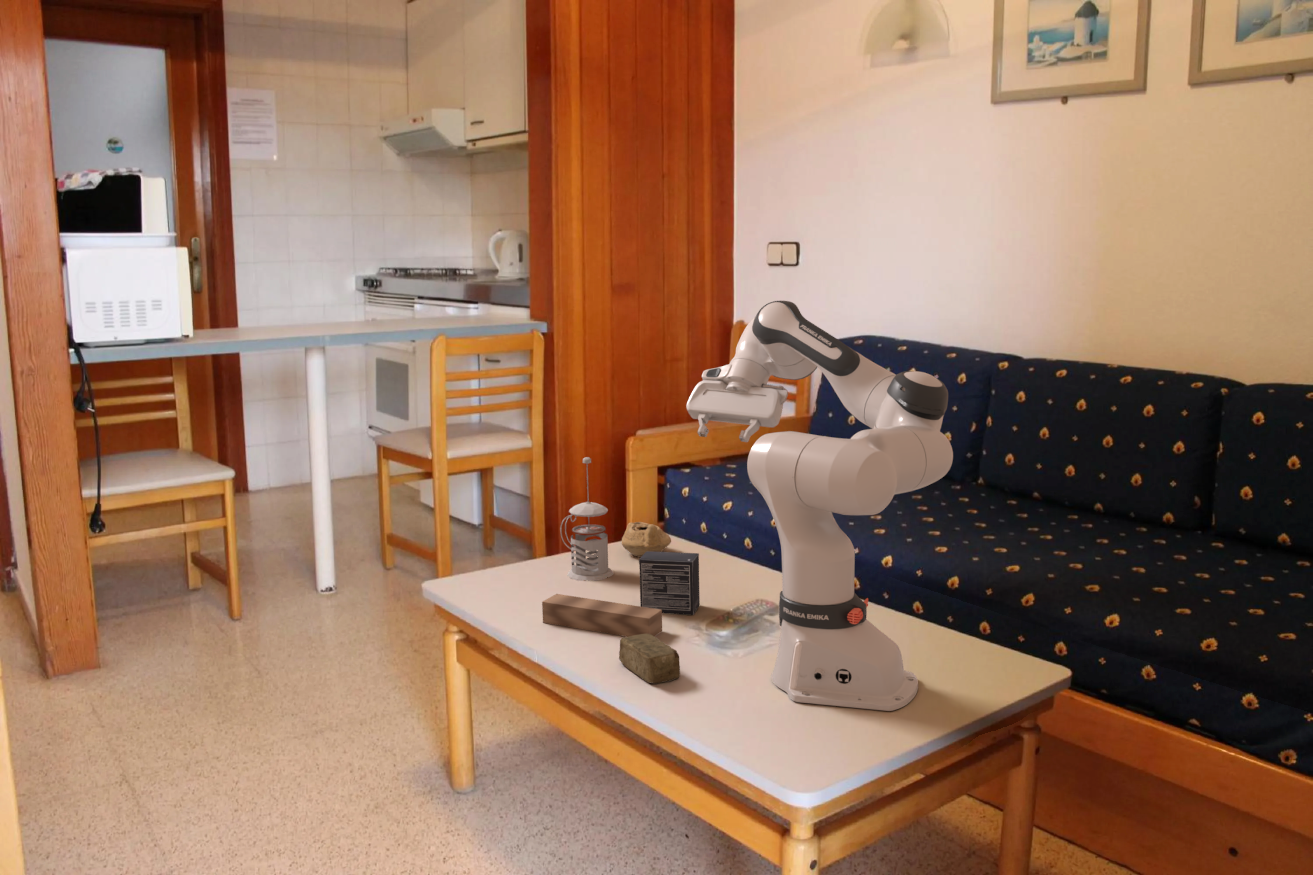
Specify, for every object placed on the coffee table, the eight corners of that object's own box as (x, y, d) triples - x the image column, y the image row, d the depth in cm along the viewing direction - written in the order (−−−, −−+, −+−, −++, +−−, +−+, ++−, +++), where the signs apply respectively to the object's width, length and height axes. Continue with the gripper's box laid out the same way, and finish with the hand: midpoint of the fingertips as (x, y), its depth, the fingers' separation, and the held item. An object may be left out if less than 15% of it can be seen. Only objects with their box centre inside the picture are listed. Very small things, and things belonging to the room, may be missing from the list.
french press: (597, 583, 220) (593, 463, 215) (550, 575, 226) (546, 458, 221) (622, 570, 228) (619, 454, 224) (576, 563, 234) (573, 450, 230)
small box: (701, 604, 206) (700, 551, 204) (694, 616, 200) (693, 561, 198) (647, 601, 208) (646, 549, 206) (639, 612, 202) (638, 558, 200)
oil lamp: (645, 541, 250) (644, 508, 249) (682, 556, 238) (681, 521, 236) (604, 549, 244) (603, 515, 243) (640, 565, 232) (639, 529, 230)
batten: (662, 631, 192) (661, 609, 191) (649, 640, 188) (649, 618, 187) (557, 614, 202) (556, 593, 201) (542, 622, 198) (542, 601, 197)
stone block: (651, 688, 168) (650, 658, 167) (616, 664, 178) (616, 636, 177) (683, 680, 171) (682, 650, 170) (647, 657, 181) (646, 629, 180)
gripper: (794, 396, 220) (773, 452, 214) (706, 387, 230) (684, 441, 224) (786, 377, 215) (764, 434, 209) (696, 369, 226) (673, 423, 220)
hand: (722, 437), depth 217 cm, fingers open, 8 cm apart
